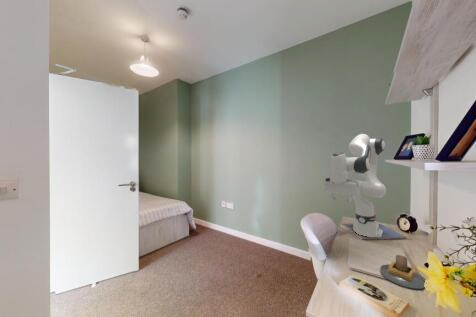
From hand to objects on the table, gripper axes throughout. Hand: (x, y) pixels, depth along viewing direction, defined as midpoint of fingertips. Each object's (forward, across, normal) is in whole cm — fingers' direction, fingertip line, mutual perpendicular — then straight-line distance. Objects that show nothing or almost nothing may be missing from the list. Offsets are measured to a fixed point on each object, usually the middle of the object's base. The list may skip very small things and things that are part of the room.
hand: (341, 201), depth 112 cm
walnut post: (+29, -28, +6) cm, 41 cm away
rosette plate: (+31, -28, +6) cm, 42 cm away
